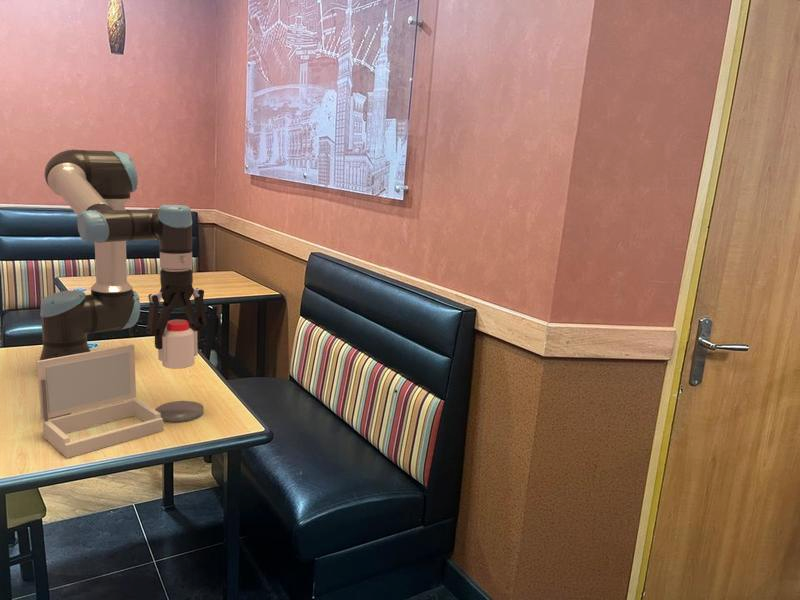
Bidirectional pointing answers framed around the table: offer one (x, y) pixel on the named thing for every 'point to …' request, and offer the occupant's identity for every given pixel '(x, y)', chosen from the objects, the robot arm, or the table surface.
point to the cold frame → (92, 399)
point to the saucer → (180, 411)
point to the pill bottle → (179, 344)
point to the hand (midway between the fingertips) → (178, 357)
